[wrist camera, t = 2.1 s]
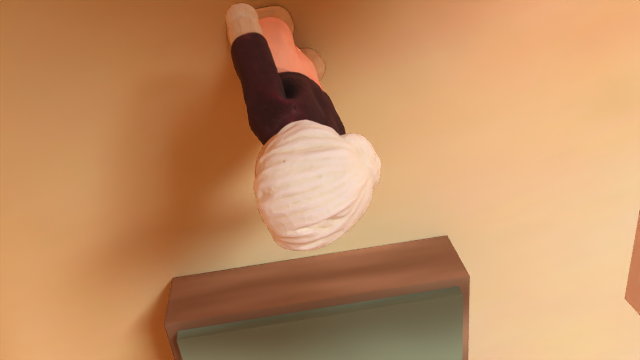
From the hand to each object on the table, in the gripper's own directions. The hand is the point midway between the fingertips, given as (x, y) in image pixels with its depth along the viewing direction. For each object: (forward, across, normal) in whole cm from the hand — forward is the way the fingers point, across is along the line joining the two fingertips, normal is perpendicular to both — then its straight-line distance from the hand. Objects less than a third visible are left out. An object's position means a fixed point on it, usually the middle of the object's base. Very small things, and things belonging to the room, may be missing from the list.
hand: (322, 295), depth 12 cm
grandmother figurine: (+15, 0, 0) cm, 15 cm away
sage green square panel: (+15, 0, -17) cm, 23 cm away
